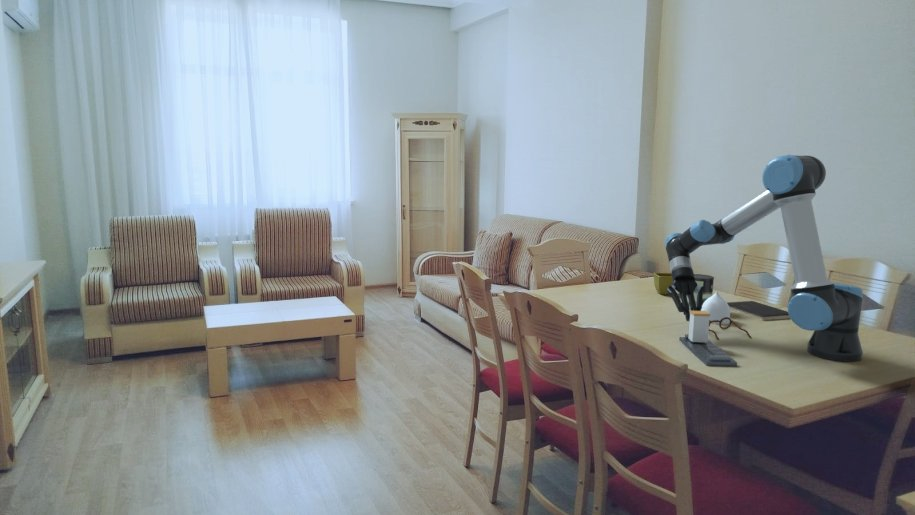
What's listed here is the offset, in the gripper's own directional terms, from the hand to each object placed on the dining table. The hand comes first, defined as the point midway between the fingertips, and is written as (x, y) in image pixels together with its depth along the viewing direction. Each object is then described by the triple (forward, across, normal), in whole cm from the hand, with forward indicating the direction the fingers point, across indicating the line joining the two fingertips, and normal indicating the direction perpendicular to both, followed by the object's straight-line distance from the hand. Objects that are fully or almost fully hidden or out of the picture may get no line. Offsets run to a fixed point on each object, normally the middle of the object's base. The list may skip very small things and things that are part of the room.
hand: (694, 328), depth 210 cm
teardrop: (-17, -18, -24) cm, 35 cm away
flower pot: (-51, -12, -58) cm, 78 cm away
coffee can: (-29, -18, -36) cm, 50 cm away
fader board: (+12, 0, +5) cm, 13 cm away
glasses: (-4, -14, -11) cm, 18 cm away
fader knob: (+5, 0, +1) cm, 5 cm away
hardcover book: (-27, -41, -35) cm, 60 cm away
